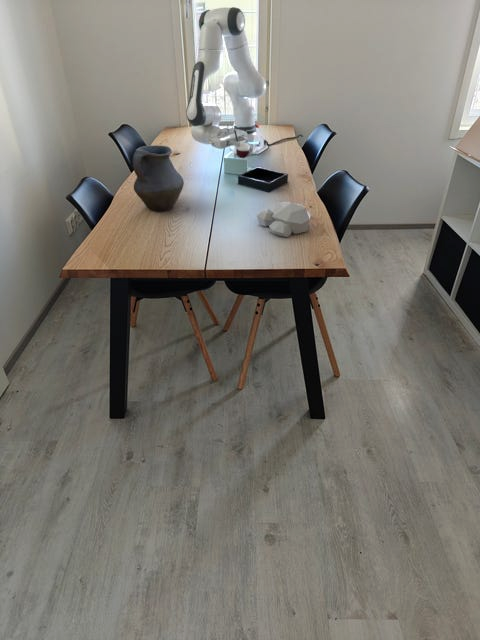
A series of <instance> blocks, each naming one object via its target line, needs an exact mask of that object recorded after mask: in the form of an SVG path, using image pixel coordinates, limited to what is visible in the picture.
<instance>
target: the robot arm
mask: <svg viewBox="0 0 480 640" xmlns="http://www.w3.org/2000/svg"><path fill="white" fill-rule="evenodd" d="M245 25H246V18H245V15H244V12H243V11H242V10H241V9H240V7H239V8H238V7H234V6H232V7H218V8H213V9H206V10H204V11H202V12H201V13H200V15H199V18H198V28H199V39H198V51H197V52H198V53H197V60H196V62H195V64H194V65H193V68H192V73H191V80H190V87H189V88H190V90H189V98H188V103H187V106H186V109H185V110H186V111H185V116H186V119H187V121H188V123H189V124H190V125H191V126H192V127H191V131H190V133H191V136H192V138H193V139H194V141H196V142H197V143H200V144H203V145H211V147H213V148H216V149H219V150H223V149H226V148H229V147H230V150H231V151H234V155H237V153H236V146H239V145H240V141H243V142H245V143H247V144H248V145H249V146H250V149H252V151H251V150H249V152H250V151H251V153H250V154H249V155H250V156H251V155H260V154H261V153H262V152H264V151H265V150H267V149H268V148H269V146H273V145H275V144H279V143H280V142H283V141H286V140H294V139H298V138H299V137H301V138H303V137H304V135H303V134H297V136H291V137H285V138H281V139H279V140H276V141H274V142H272V143H269V141H267V139H264V137H263V135H261V134H260V133H259V132H258V130H257V129H259V128H260V124H257V123H256V121H255V118H256V117H255V116H256V113H255V112H256V111H255V107H254V106H253V105H252V104H251V103H250V100H249V99H258V98H262V97H263V96H264V95H265V93H266V91H267V81H266V79H265V78H264V77H263V76H262V75H261V74H260V73H259V71H258V70H257V68H256V66H255V65H254V62H253V60H252V57H251V53H250V49H249V44H248V39H247V35H246V34H247V33H246V31H245ZM224 48H225V54H226V57H227V62H228V65H229V66H230V68H232V69H233V70H234V71H232V72H228V73H227V74H225V76H224V78H223V82H222V86H223V89H224V91H225V93H226V94H227V95H228V97H229V99H230V101H231V104H232V108H233V119H234V120H233V122H234V123H233V126H226V127H224V126H220V125H221V120H222V119H221V118H222V111H221V109H220V107H219V106H218V105H217V104H215V103H209V102H207V103H206V102H203V97H204V89H205V83H206V80H207V79H208V78H209V77H211V76H213V75H215V74H216V73H217V72H219V71H220V69H221V68H222V66H223V65H222V64H223V57H224ZM234 130H235V131H236V134H237V138H238V142H237V141H236V137H235V133H234ZM249 155H248V156H249Z"/></svg>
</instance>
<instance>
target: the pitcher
mask: <svg viewBox="0 0 480 640" xmlns="http://www.w3.org/2000/svg"><path fill="white" fill-rule="evenodd" d="M172 153H173V151H172V149H171V147H169V146H168V145H143V146H140V147H138V148H137V149H135V152H134V153H133V154H132V155H133V156H132V168H133V172H134V173H135V176H136V178H135V181H133V191H134V192H135V194H136V195H137V197H138V198H139V199H140V200H141V201H142V202H143V204H144V205H145V207H146V208H147V209H149V210H151V211H155V212H165V211H169V210H170V209H173V208H174V206H175V205H176V203H177V201H178V200H179V198H180V195H181V193H182V191H183V188H184V185H185V181H184V178H183V177H182V175H181V174H180V172H178V171H177V169H176V168H175V166H174V164H173V162H172V160H171V158H170V155H171V154H172Z"/></svg>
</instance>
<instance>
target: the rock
mask: <svg viewBox="0 0 480 640" xmlns="http://www.w3.org/2000/svg"><path fill="white" fill-rule="evenodd" d="M256 217H257V221H258V224H259V226H262V227H269V230H270V233H272V234H274V235H275V236H279V237H284V238H287V237H291V235H292V234H294V235H297V234H301V233H306V232H308V231H309V226H310V220H311V213H310V212H309V211H308V209H307V207H306V206H304V205H303V204H301V203H295V202H289V201H283V200H281V201H280V202H279V203H278V205H277V206H276V207H275V209H274V211H273V210H272V209H270V208H267V209H264V210H262V211H261V212H259V213H258V214H256Z"/></svg>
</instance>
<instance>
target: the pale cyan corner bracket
mask: <svg viewBox="0 0 480 640" xmlns="http://www.w3.org/2000/svg"><path fill="white" fill-rule="evenodd" d="M248 159H249V158H240V157H235V153H234V151H232V150H231V151H229V152H228V153H227V154H226V155H224V157H223V173H224V174H232V175H240V174H243V173H245V172H247V171H249V170H252V169H254V168H255V167H251V166H248V165H249V160H248Z"/></svg>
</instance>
